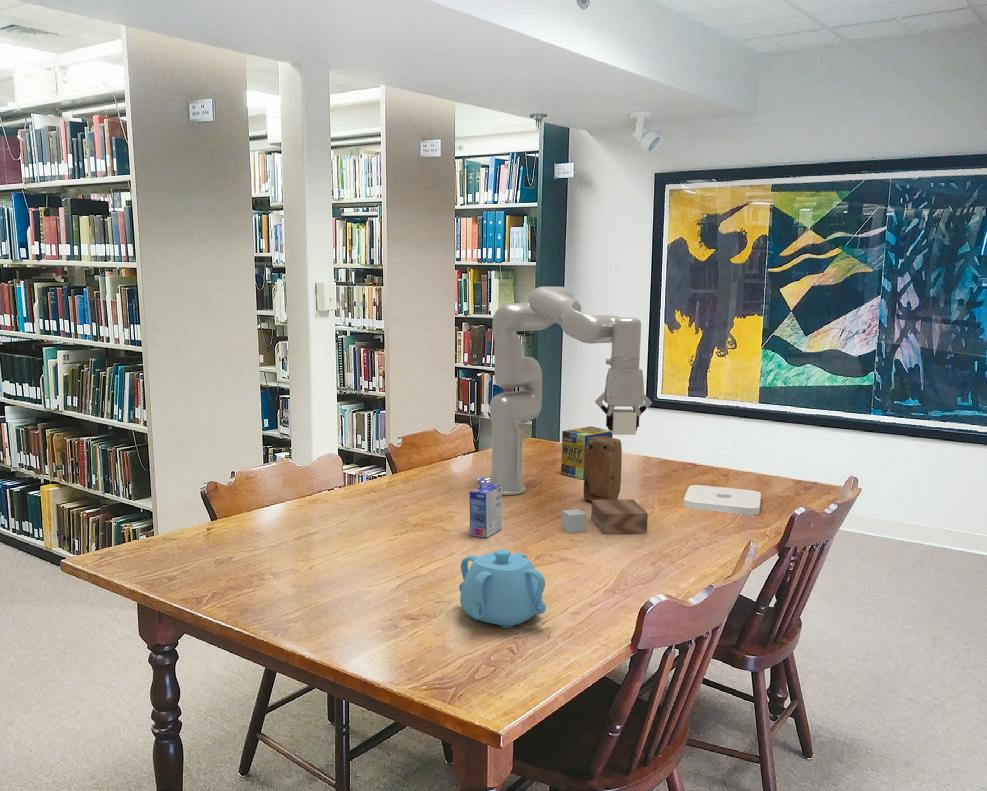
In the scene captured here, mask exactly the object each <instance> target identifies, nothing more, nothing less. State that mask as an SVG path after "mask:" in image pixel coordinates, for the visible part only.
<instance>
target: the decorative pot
mask: <svg viewBox="0 0 987 791" xmlns="http://www.w3.org/2000/svg"><path fill="white" fill-rule="evenodd" d="M469 561H471V565H470V567H469ZM460 572H461V575H462V576H461V577H462V580H463V581H462V582H461V583H460V584H459V589H458V590H459V592H460V596H459V602H460V605H461V607H462V609H463V610H464V612H465V613H466V615H467V616H469V617H471V618H472V620H474V621H481V622H483V623H488V624H493V625H499V627H501V628H503V629H510V628H513V627H514V626H517V625H520V624H522V623H525V622H526V621H528V620H530V619H531V618H532V617H533V616H535V615H542V614H544V613H545V612H546V609H547V606H546V604H545V602H544V601H543V593H544V591H545V589H546V588H545V587H546V579H545V576H544V574H542V573H541V572H540V571H539V570H538V569H535V567H534V565H533V563H532V561H531V560H530V559H528V557H527V555H526V554H525V553H522V552H516V553H511V551H510V550H508V549H502V548H501V549H496V550H494V552H489V553H485V554H482V555H480V556H478V555H473V554H472V555H468V556H465V557H464V558H463V559H462V560H461V563H460Z"/></svg>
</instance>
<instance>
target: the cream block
mask: <svg viewBox="0 0 987 791" xmlns="http://www.w3.org/2000/svg"><path fill="white" fill-rule="evenodd" d="M612 416H613V430H612V431H610V430H609V429H608V430H609V431H610V432H611V433H612V434H613V435H617V436H618V435H621V436H622V435H624V436H625V435H626V436H636V435H637V431H636V418H637V413H636V412H635V411H633V408H614V410H613V412H612Z"/></svg>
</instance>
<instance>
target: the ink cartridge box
mask: <svg viewBox="0 0 987 791" xmlns="http://www.w3.org/2000/svg"><path fill="white" fill-rule="evenodd" d="M480 478H481V479H479V480H478V482H479V484H478V485H479V486H478V487H475V488H473V489H472V490H469V534H470V536H473V537H476V538H482V539H483V538H484V539H487V538H489V537H491V536H492V535H494V534H495V533H496V532H498V531H500V530H501V529H502V528H503V524H502V522H503V516H502V514H503V513H502V511H503V508H502V507H503V501H502V500H503V498H502V497H503V495H502V485H496V484H490V483H487V482H486V480H485V478H486V477H484V476H483V477H480ZM482 481H485V483H484V484H481V482H482Z"/></svg>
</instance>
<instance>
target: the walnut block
mask: <svg viewBox="0 0 987 791" xmlns="http://www.w3.org/2000/svg"><path fill="white" fill-rule="evenodd" d="M590 514H591V515H590V520H591V521H592V523H593V524H594V523H595V524H594V525H595V526H596V527H598V528H599V529H598V528H597V529H598V531H600V533H601V534H602V535H603V534H615V535H644V534H643V533H648V518H649V517H648V515H649V513H648V511H646V510H645V509H644V508H643V507H642V506H641V505H640V504H639V503H637V502H636V501H635V499H632V498H631V499H617V500H592V502H591V513H590ZM641 533H642V534H641Z"/></svg>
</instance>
